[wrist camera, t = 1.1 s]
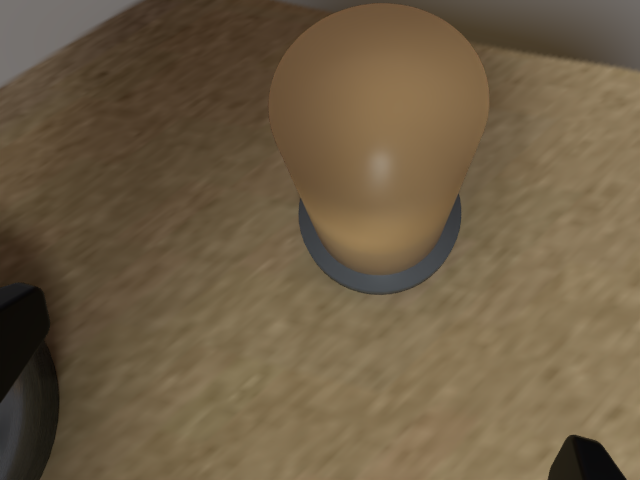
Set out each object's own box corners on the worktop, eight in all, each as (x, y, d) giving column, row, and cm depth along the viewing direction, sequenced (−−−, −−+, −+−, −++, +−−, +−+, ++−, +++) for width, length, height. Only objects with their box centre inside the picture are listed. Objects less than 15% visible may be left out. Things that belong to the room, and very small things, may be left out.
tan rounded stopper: (479, 269, 22) (559, 182, 12) (324, 313, 22) (278, 262, 12) (429, 128, 23) (463, -49, 14) (286, 170, 23) (219, 25, 14)
